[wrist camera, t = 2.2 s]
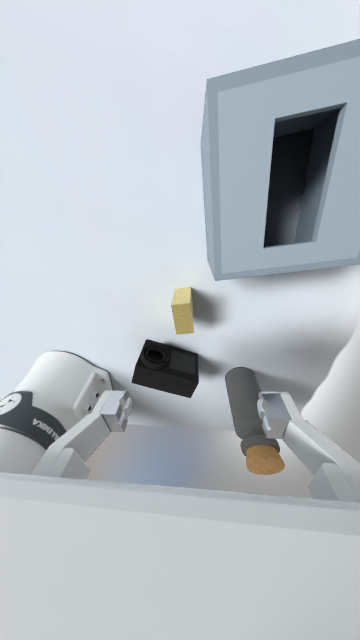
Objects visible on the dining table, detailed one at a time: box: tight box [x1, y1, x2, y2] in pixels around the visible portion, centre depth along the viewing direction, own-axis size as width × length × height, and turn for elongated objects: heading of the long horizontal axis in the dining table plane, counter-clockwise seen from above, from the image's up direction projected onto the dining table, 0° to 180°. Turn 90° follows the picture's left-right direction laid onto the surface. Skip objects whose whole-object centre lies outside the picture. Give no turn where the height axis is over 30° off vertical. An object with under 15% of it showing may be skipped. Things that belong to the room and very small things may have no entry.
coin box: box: [201, 39, 360, 281], centre depth 16 cm, size 12×12×10 cm
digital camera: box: [132, 340, 199, 398], centre depth 30 cm, size 10×5×7 cm, turn 73°
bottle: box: [225, 367, 285, 475], centre depth 29 cm, size 6×6×15 cm
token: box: [171, 287, 194, 334], centre depth 25 cm, size 4×2×6 cm, turn 8°
